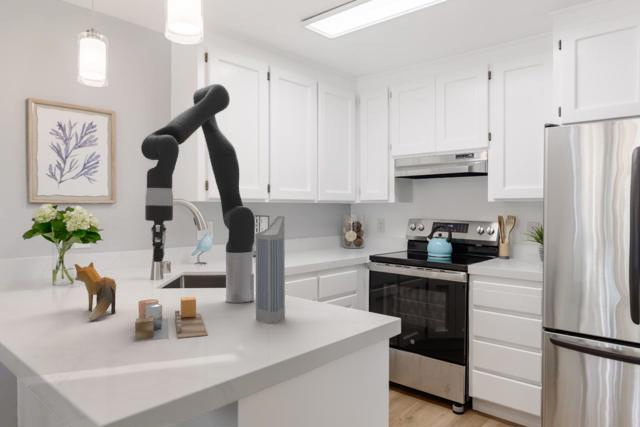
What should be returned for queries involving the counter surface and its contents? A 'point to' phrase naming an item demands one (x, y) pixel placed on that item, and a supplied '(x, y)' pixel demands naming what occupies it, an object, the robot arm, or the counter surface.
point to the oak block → (144, 328)
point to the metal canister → (155, 314)
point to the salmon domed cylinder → (143, 306)
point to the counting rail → (189, 326)
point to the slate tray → (157, 332)
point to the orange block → (188, 307)
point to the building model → (270, 273)
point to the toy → (97, 290)
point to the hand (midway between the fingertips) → (158, 260)
